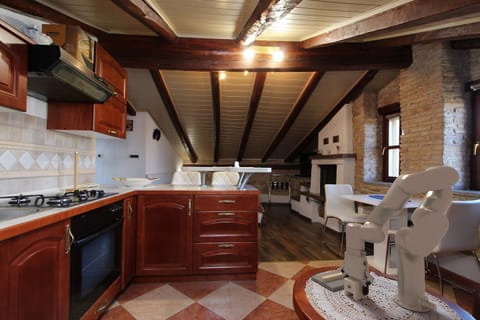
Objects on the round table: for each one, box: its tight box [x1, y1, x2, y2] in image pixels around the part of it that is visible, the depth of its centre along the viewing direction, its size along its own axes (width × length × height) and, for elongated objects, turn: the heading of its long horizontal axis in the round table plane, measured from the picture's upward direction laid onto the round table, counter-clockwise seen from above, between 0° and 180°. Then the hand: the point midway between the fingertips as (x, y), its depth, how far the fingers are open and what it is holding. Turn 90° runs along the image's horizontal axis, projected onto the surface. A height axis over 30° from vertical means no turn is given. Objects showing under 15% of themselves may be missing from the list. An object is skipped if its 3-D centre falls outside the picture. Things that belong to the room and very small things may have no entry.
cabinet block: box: [343, 276, 369, 301], centre depth 107 cm, size 6×9×7 cm
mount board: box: [310, 269, 351, 292], centre depth 121 cm, size 14×20×3 cm
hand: (355, 289), depth 107 cm, fingers open, 9 cm apart
